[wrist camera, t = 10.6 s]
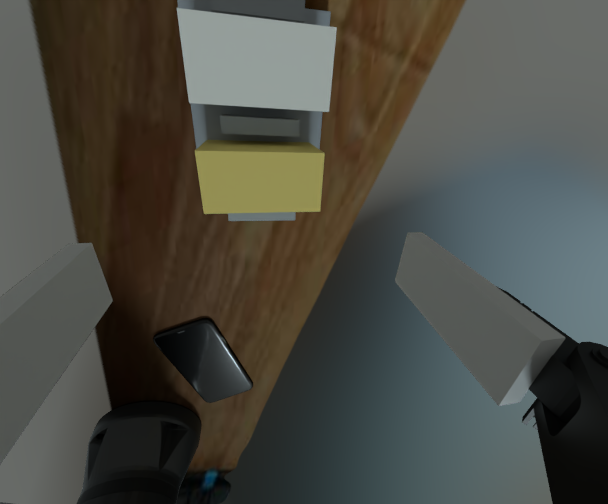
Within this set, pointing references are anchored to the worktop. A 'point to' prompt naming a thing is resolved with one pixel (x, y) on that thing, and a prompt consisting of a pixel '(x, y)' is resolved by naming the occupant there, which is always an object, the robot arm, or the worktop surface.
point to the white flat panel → (256, 61)
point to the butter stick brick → (259, 176)
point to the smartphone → (204, 359)
